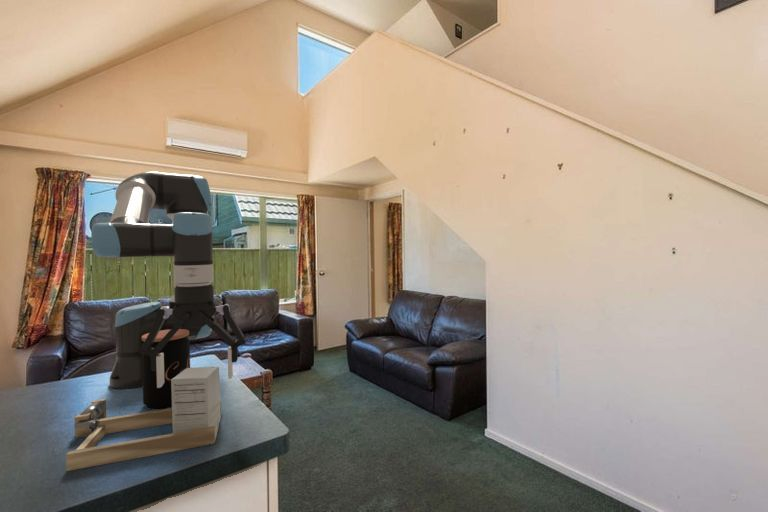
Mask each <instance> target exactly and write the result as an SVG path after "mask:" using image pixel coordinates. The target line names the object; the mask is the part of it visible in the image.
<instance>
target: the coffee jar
mask: <svg viewBox="0 0 768 512" xmlns="http://www.w3.org/2000/svg"><path fill="white" fill-rule="evenodd" d="M170 330H171V329H170ZM170 330H161V331H159V332H158V334H157V336H156V338H155V340H154V342H153V344H152V346H151V347H152V348H155V347H156V346H157V344H158V343H159V342H160V341H161V340H162V339H163V338H164V337H165V335H166V334H167V333H168V332H169V331H170ZM148 335H149V333H147V334H145V335H143V336H142V341H143V342H145V340H146V338H147V336H148ZM188 335H189V330H186V329H179V330H178V331H177V332H176V333H175V334H174V336H173V337H172V338H171V339H170V340H169V341H168V342H167V344H166V345H165V346H164V347H163V348H162V349H161V350H160V351H159V353H164V384H163V385H162V387H160V388H157V371H152V370H151V358H150V356H149V355H145V354H144V355H142V376H143V386H142V398H143V399H142V402H143V403H142V404H143V405H144V406H145V407H146V408H147V409H148V410H152V409H159V410H163V409H165V408H166V409H170V408H169V407H171V408H172V391H171V379H173V378H174V377H175V376H177V375H178V374H180V373H181V372H182V371H184V370H185V369H186V368H191V351H190V349H191V348H190V347H191V346H190V345H191V344H190V340H189V339H188V338H187V336H188ZM142 346H143V345H142Z"/></svg>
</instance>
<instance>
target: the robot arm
mask: <svg viewBox="0 0 768 512" xmlns="http://www.w3.org/2000/svg"><path fill="white" fill-rule="evenodd" d="M210 189H211V188H210V185H209V182H208V179H206V178H205V177H204V176H201V175H195V174H192V173H191V174H186V173H173V172H163V171H162V172H159V171H145V172H140V173H137V174H134V175H132V176H129V177H127V178H125V179H124V180H122V181H121V182H120V183H118V186H117V187H116V190H115V200H116V204H115V207H114V209H113V212H112V215H111V218H110V221H106V222H97V223H94V224H93V225H92V228H91V233H90V236H91V237H90V239H91V240H90V242H91V248H92V252H93V254H94V255H95V256H96V257H99V258H114V259H116V258H117V259H118V258H139V257H140V258H144V257H172V259H173V261H172V265H173V296H171V297H170V298H169V299H168V305H162V303H161V302H160V301H154V302H152V301H151V302H145V303H140V304H134V305H130V306H127V307H123V308H121V309H119V310H118V311H117V312H116V314H115V321H114V322H115V324H114V328H115V351H116V352H115V354H116V356H115V358H116V359H115V361H114V364H113V367H112V370H111V373H110V376H109V387H110V388H112V389H121V390H122V389H134V388H139V387H140V388H141V387H143V376H142V355H144V354H145V355H149V356H150V358H151V370H152V371H157V388H160V387H162V385H163V384H164V353H159V351H160V350H161V349H162V348H163V347H164V346H165V345H166V344H167V342H168V341H169V340H170V339H171V338H172V337H173V336H174V334H175V333H176V332H177V331H178V330H179V329H186V330H189V335H188V336H187V338H188V339H189V341H190V340H197V339H203V338H207V337H209V336H210V335H211V333H212V331H213V332H215V333H216V335H218V336H219V338H220V339H222V340H223V341H224V342H225V343H226V344H227V346H228V347H227V375H228V376H227V379H228V380H231V379H233V375H234V374H233V373H234V370H233V369H234V368H233V365H234V364H233V363H237V361H238V358H239V357H238V356H239V355H238V352H239V351H238V350H239V349H238V348H239V347H240V346H243V345H245V344H246V342H247V340H246V336H245V335H244V333H243V331H242V330H241V328H240V327H239V325H238V323H237V322H236V320H235V318H234V316H233V315H232V312H231V307H230V303H224V304H223V305H217V306H216V304H215V286H214V285H213V284H211V283H213V282H214V260H213V257H214V256H213V246H214V245H213V243H214V242H213V240H214V239H213V231H214V227H213V220H212V219H213V218H212V216H211V215H210V214H208V212H212V210H213V207H212V206H213V204H212V195H211V190H210ZM151 210H164V211H166V217H168V219H170V220H171V223H167V224H166V223H161V224H160V223H149V222H150V216H151ZM217 312H218V313H219V314H220V315H221V316H223V317H224V319H225V320H226V322H227V324H228V325H229V328H230V329H231V331H232V333H233V335H234V337H235V338H236V339H237V340H236V339H235V338H234V337H233V336H232V335H231V334H230V333H229V332H228V331H227V330H226V329H225V328H224V327H223V326H222V325H220V324H219V323H218V321H217V320H216V319H215V318H214V317H215V314H216V313H217ZM170 329H171V330H170ZM161 330H170V331H169V332H168V333H167V334H166V335H165V337H164V338H163V339H162V340H161V341H160V342H159V343H158V344H157V346H156V347H155V348H152V347H151V346H152V344H153V342H154V340H155V338H156V336H157V334H158V332H159V331H161ZM147 333H149V335H148V336H147V338H146V340H145V342H143V341H142V336H143V335H145V334H147ZM142 345H143V346H142Z"/></svg>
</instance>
